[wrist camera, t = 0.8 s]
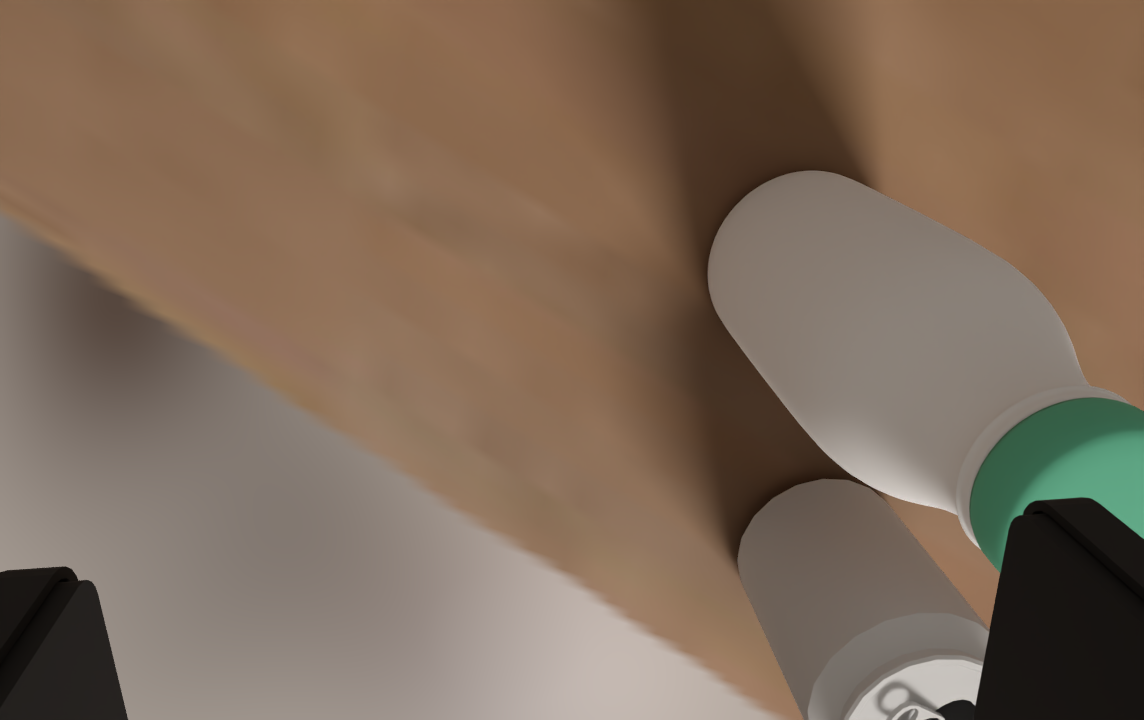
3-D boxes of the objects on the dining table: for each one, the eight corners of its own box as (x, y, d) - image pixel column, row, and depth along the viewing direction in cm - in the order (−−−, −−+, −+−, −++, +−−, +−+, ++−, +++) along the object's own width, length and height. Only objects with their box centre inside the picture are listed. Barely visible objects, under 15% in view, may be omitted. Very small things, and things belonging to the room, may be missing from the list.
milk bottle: (670, 309, 38) (860, 615, 19) (762, 133, 36) (1079, 292, 17) (827, 377, 40) (1138, 715, 21) (924, 215, 38) (1366, 436, 19)
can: (823, 631, 45) (939, 842, 34) (699, 567, 43) (780, 770, 32) (922, 513, 43) (1080, 697, 32) (798, 440, 41) (921, 610, 30)
